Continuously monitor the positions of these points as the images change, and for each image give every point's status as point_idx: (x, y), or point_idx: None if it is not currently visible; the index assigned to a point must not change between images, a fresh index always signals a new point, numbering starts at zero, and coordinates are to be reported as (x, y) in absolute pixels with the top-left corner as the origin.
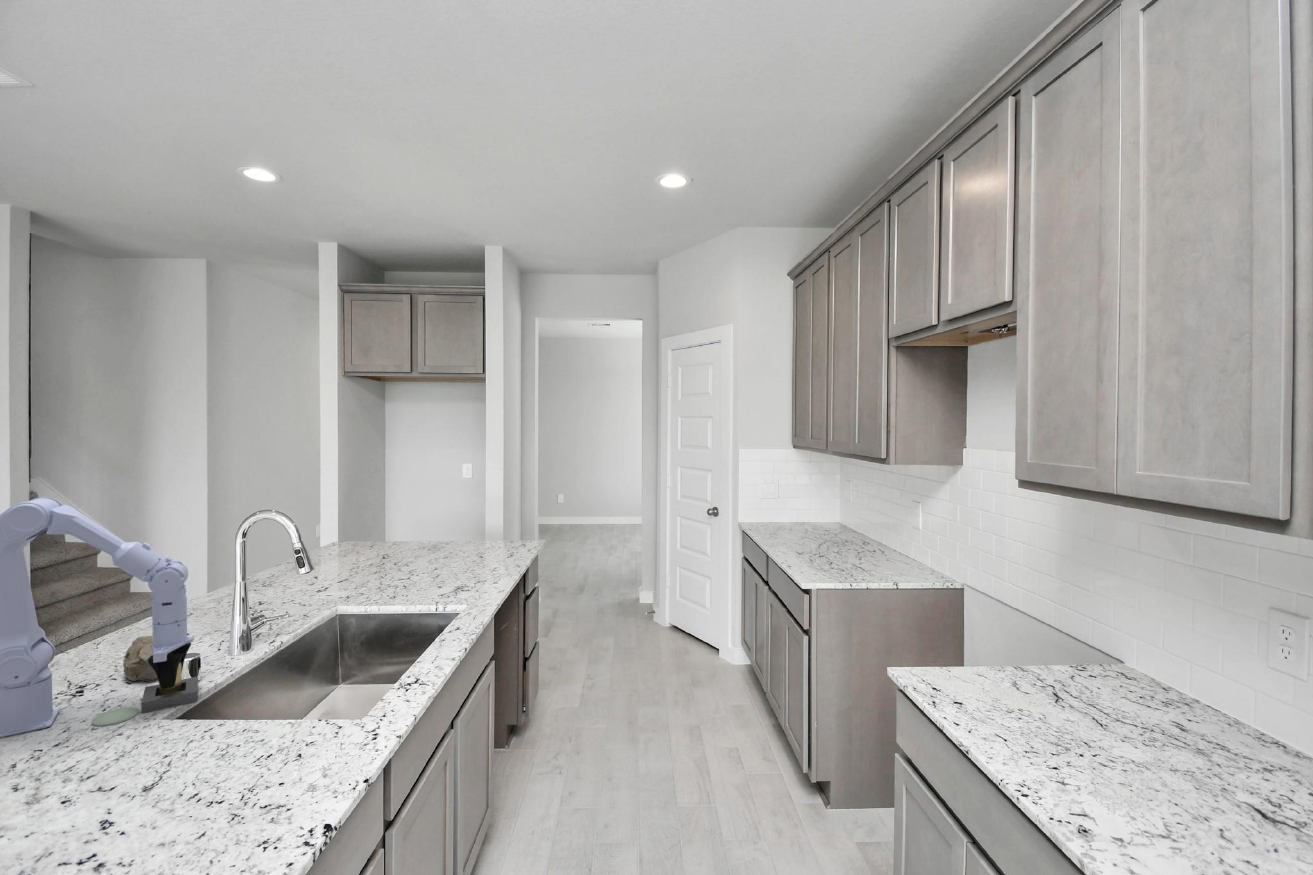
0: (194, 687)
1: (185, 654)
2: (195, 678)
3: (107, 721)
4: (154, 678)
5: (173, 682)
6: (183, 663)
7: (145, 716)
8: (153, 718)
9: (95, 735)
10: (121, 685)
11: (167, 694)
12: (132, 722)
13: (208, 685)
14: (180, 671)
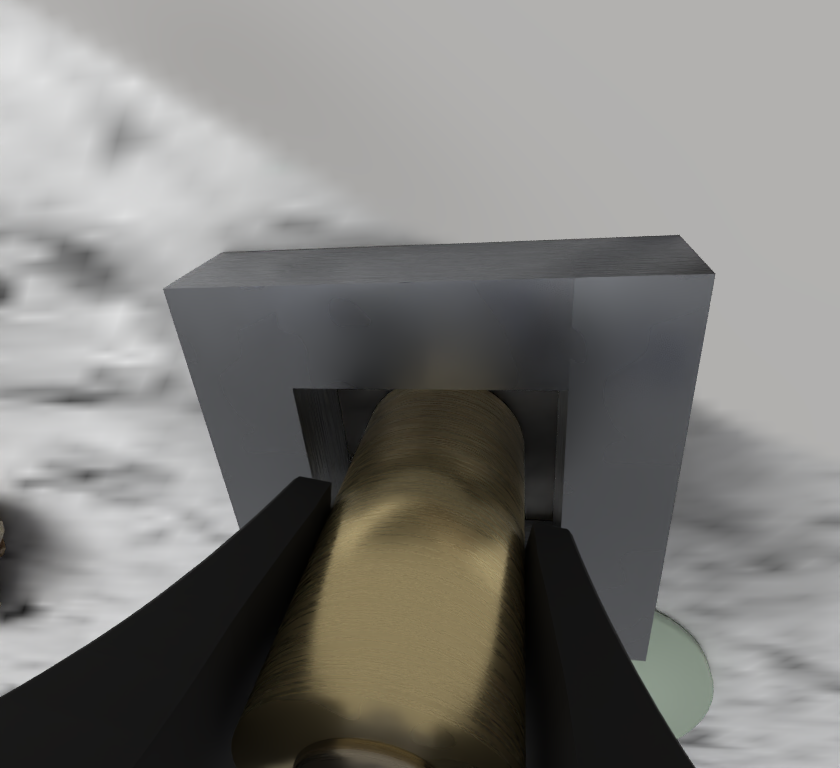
0: (539, 308)
1: (116, 751)
2: (223, 310)
3: (663, 716)
4: (3, 534)
5: (585, 574)
6: (189, 586)
7: (715, 565)
8: (819, 529)
9: (818, 743)
10: (50, 636)
11: (575, 520)
12: (770, 621)
13: (237, 154)
14: (433, 584)
